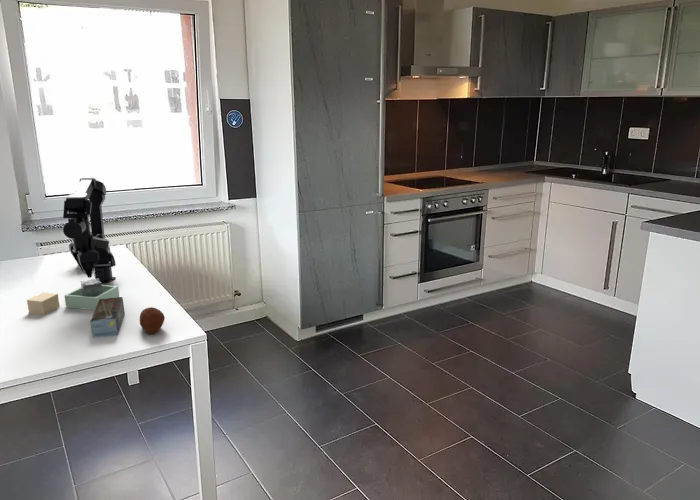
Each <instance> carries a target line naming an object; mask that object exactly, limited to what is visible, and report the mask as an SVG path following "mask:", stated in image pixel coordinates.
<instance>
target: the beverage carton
mask: <svg viewBox="0 0 700 500" xmlns="http://www.w3.org/2000/svg"><path fill="white" fill-rule="evenodd" d="M93 311H94V312H93V314H92V317H91V319H90V320H89V321H90V329H91V330H90V331H91V334H92V338H101V337H109V336H118V335H119V332H120V329H121V326H122V322H123V319H124V316H125V312H126V311H125V305H124V299H123V296H119V297H118V298H108V299H99V302H98V304H97V306H96V309H95V310H93Z"/></svg>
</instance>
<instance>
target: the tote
mask: <svg viewBox="0 0 700 500" xmlns="http://www.w3.org/2000/svg"><path fill="white" fill-rule="evenodd" d="M102 292H103V294H101V295H99V296H97V297H87V296H82V288H81V287H78V288H77V289H75V290H72V291H71V292H68V293H67V294H66V293H65V295H64V301H65V307H66V308H71V309H81V310H82V309H83V310H91V311H95V309H96V306H97V304H98V302H99V299H108V298H118V297H120V291H119V285H108V284H107V285H106V284H102Z"/></svg>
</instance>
